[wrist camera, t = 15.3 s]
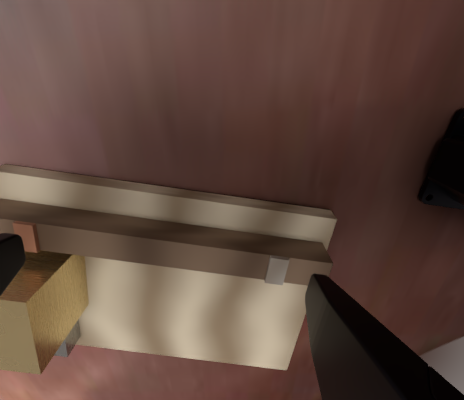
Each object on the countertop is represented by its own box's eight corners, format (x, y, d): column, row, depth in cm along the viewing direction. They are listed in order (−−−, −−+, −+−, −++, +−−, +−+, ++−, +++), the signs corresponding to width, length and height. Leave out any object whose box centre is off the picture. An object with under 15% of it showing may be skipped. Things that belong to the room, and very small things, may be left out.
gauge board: (330, 210, 20) (352, 240, 16) (284, 355, 27) (291, 402, 23) (5, 164, 20) (-54, 184, 16) (37, 324, 26) (0, 368, 22)
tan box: (83, 243, 20) (25, 302, 15) (91, 337, 24) (48, 412, 19) (29, 235, 20) (-49, 293, 15) (46, 332, 24) (-10, 405, 19)
